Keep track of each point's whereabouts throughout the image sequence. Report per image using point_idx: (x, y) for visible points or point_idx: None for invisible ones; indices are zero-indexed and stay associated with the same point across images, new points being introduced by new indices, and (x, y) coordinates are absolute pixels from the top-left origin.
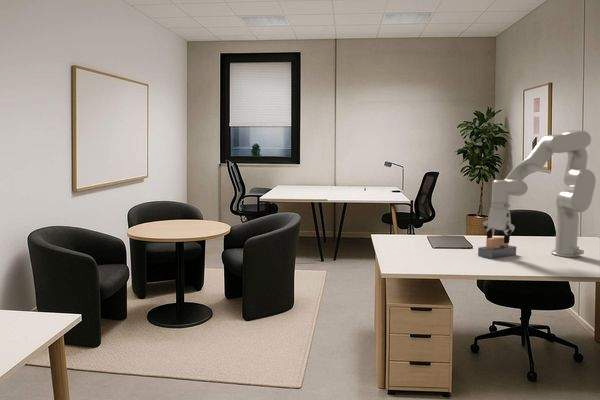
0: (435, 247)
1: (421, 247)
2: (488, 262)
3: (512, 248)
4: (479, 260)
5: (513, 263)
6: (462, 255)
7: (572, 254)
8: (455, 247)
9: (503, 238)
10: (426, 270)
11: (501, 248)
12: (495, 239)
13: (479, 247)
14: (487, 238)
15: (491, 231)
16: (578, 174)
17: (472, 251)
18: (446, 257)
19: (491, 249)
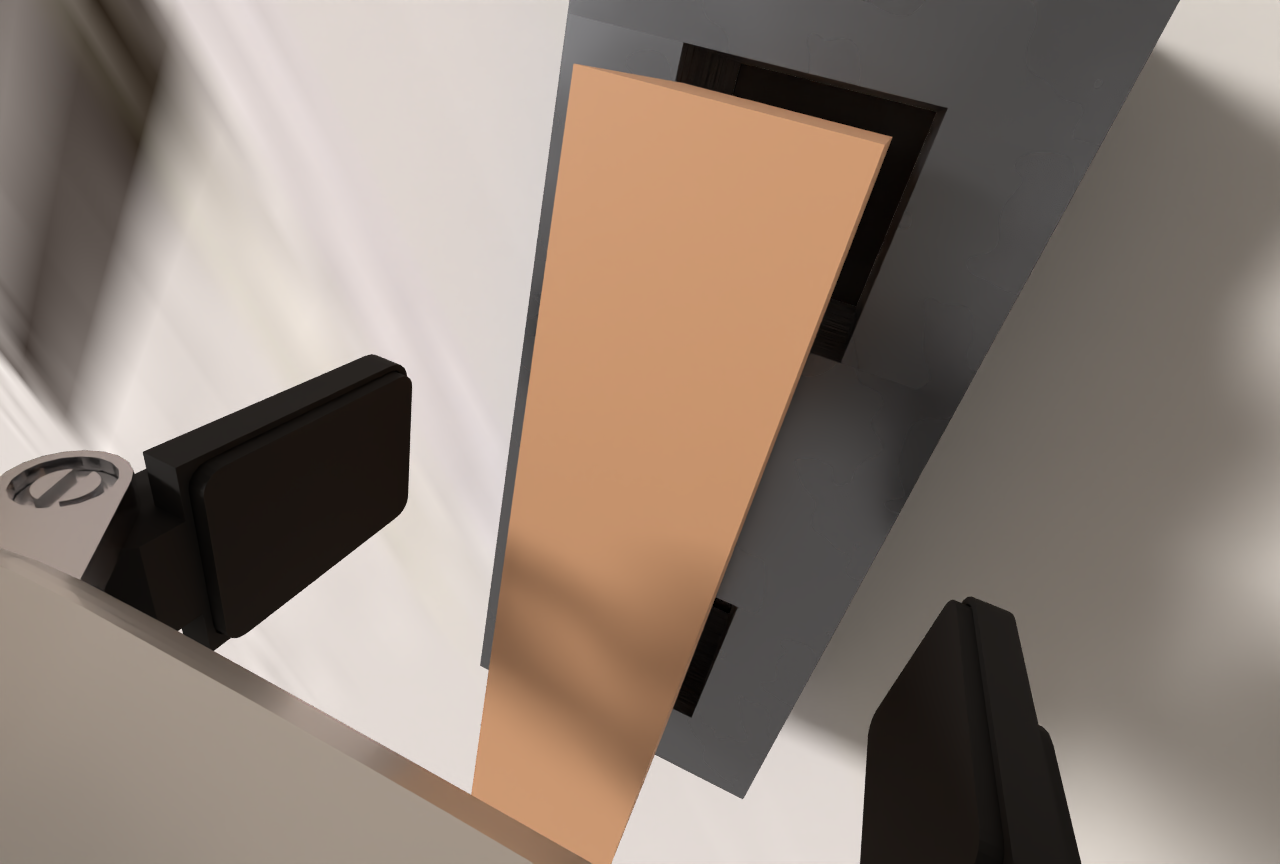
0: (30, 359)
1: (12, 447)
2: (802, 842)
3: (1050, 215)
4: (676, 780)
5: (1162, 821)
6: (420, 614)
7: None
8: (66, 179)
9: (743, 513)
10: None
11: (819, 571)
12: (638, 786)
13: (487, 654)
14: (473, 782)
15: (171, 492)
16: None
17: (330, 300)
18: (398, 753)
19: (698, 735)
